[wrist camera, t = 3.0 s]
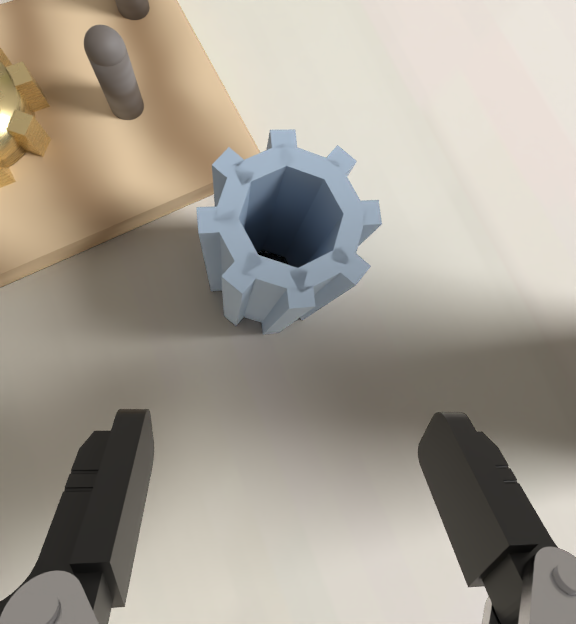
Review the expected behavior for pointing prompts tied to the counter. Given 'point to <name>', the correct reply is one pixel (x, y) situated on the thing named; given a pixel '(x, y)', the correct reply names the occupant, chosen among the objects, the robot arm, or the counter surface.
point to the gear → (19, 117)
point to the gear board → (110, 125)
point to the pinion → (283, 231)
